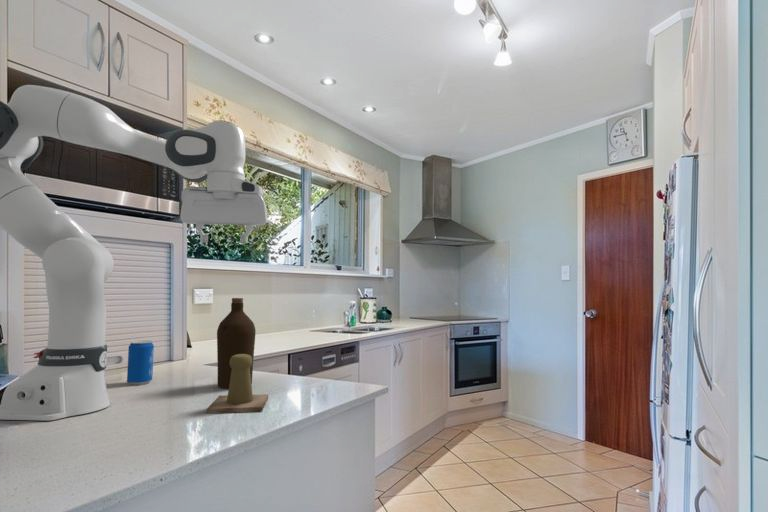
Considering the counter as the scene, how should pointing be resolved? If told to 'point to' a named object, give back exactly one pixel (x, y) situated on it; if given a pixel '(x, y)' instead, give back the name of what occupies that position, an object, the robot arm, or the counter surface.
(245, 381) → the cork
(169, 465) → the counter surface
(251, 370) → the olive oil
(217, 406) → the walnut trivet
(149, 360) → the beverage can
